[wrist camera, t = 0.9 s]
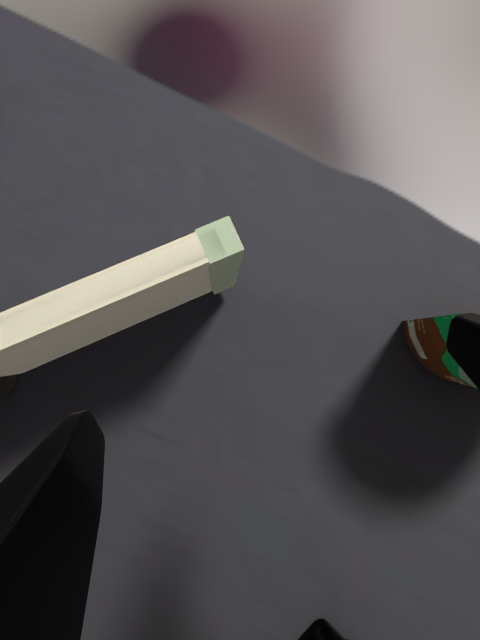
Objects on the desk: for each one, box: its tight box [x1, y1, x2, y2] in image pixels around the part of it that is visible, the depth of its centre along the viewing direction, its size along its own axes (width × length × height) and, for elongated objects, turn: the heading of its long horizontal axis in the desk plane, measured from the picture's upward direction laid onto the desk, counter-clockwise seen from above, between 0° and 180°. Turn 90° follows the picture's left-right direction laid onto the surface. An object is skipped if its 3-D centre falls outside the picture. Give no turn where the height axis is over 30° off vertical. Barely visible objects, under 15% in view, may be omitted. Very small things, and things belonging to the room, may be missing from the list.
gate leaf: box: [0, 216, 244, 377], centre depth 17 cm, size 15×2×9 cm, turn 114°
